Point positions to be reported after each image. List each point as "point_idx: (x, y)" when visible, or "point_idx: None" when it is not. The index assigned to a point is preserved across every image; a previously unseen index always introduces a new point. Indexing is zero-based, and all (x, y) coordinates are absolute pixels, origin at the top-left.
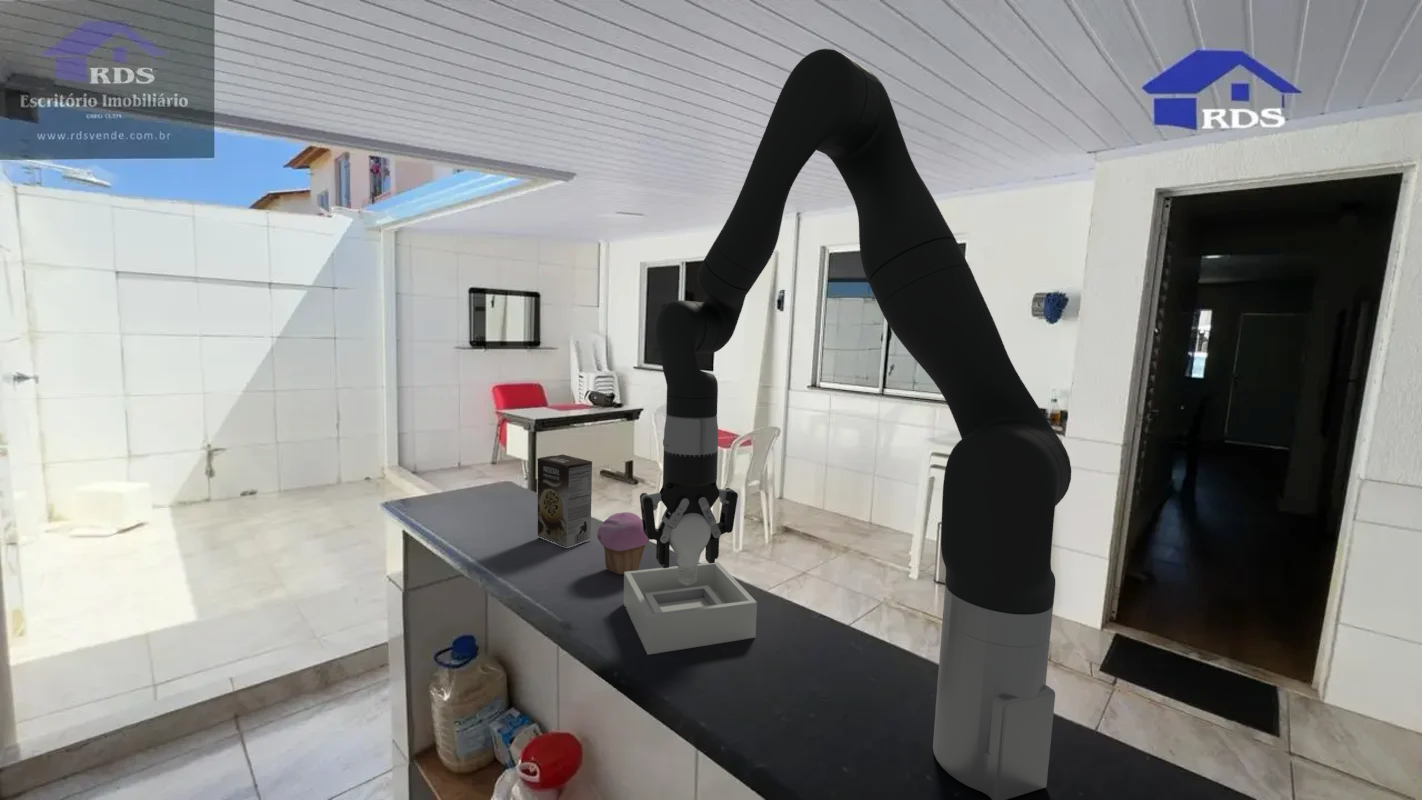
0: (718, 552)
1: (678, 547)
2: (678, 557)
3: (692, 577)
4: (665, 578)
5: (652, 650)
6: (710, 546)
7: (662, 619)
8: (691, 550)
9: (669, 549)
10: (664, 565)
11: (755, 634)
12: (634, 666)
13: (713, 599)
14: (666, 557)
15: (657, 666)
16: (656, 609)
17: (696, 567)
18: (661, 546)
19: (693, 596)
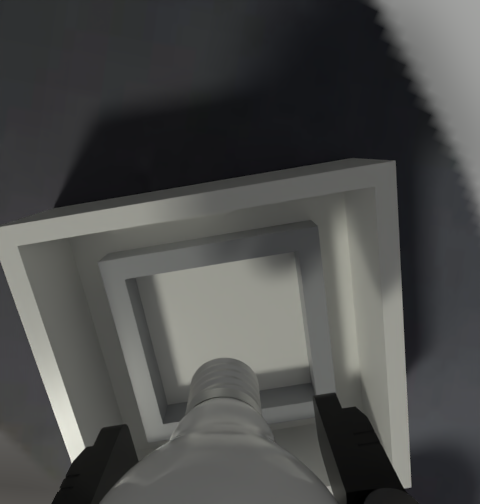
0: (69, 471)
1: (292, 454)
2: (272, 437)
3: (208, 373)
4: None
5: (341, 160)
6: (98, 492)
7: (339, 168)
8: (215, 432)
9: (334, 460)
10: (337, 397)
11: (49, 209)
12: (392, 105)
13: (143, 356)
14: (338, 425)
15: (335, 97)
16: (319, 314)
17: (188, 408)
18: (383, 480)
19: None
